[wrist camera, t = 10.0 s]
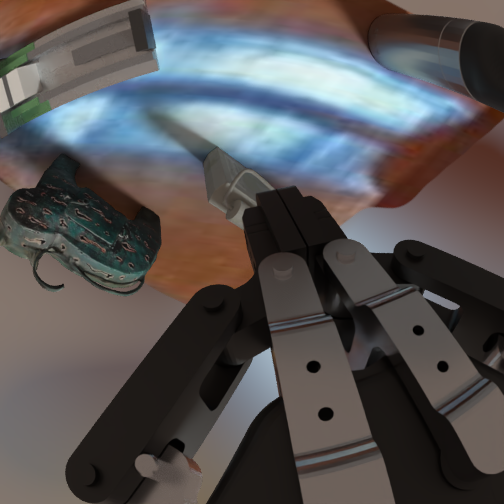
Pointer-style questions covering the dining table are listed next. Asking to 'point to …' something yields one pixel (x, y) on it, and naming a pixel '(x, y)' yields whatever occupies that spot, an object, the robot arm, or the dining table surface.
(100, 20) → the grey open box
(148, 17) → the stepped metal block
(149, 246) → the green animal figurine
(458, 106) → the dining table surface
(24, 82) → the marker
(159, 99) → the dining table surface
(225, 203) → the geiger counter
